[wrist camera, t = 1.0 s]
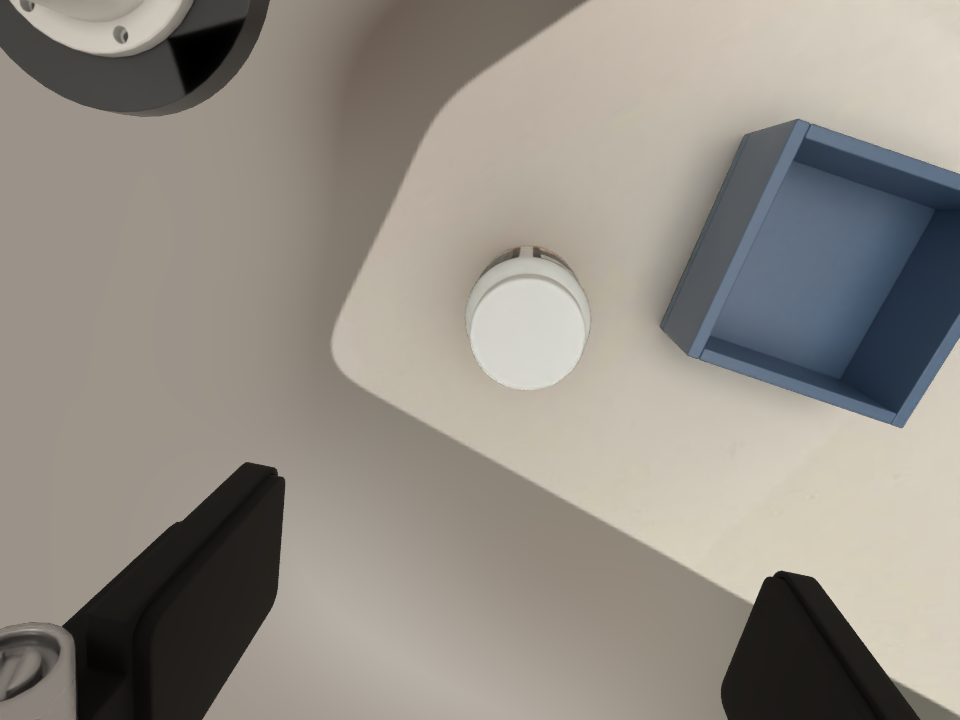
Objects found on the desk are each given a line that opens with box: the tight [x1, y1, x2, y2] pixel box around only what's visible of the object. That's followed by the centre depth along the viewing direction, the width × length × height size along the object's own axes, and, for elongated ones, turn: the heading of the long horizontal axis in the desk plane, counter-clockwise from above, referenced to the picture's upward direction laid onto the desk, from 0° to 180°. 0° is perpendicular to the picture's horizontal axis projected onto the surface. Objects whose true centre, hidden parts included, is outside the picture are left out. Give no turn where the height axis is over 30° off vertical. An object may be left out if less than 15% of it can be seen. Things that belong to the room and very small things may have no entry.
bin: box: [660, 119, 960, 428], centre depth 26 cm, size 11×11×6 cm
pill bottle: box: [465, 246, 591, 390], centre depth 26 cm, size 6×6×10 cm
